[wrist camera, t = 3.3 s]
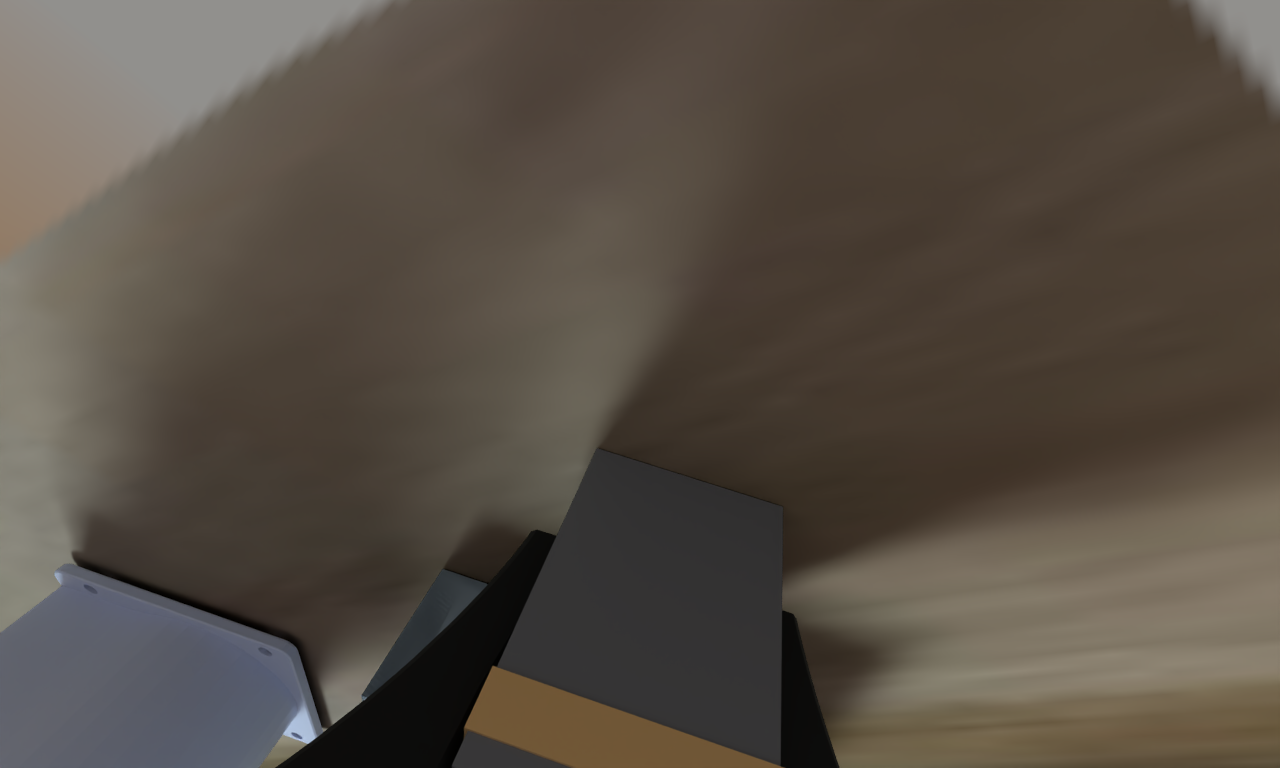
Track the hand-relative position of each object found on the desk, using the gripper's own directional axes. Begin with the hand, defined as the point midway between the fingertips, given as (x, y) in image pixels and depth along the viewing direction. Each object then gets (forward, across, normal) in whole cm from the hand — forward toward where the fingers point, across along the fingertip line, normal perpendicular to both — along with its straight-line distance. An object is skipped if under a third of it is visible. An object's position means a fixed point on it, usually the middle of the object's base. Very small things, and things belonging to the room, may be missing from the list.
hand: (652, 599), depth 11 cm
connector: (+2, 0, 0) cm, 2 cm away
